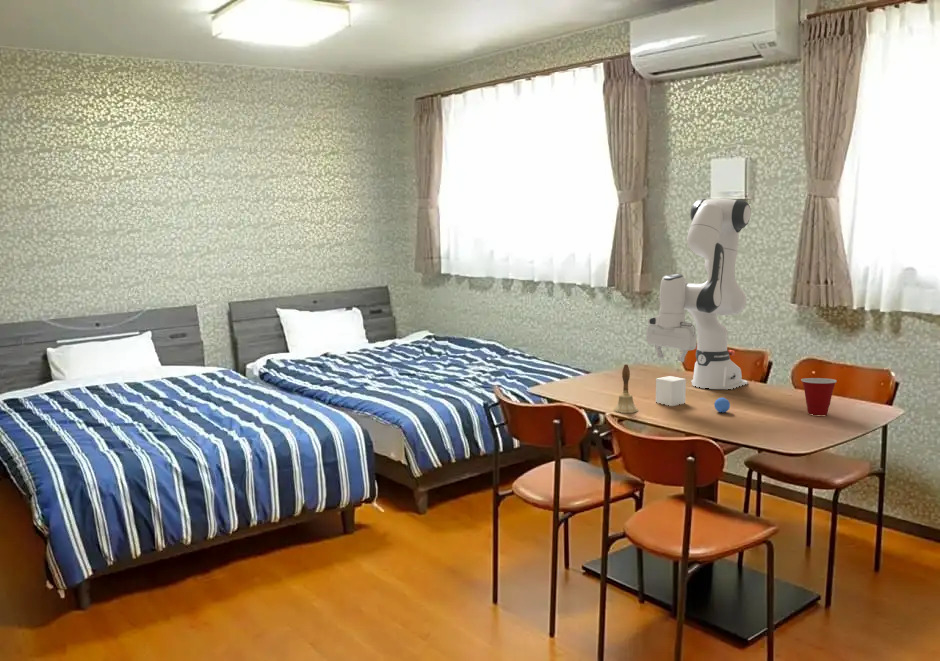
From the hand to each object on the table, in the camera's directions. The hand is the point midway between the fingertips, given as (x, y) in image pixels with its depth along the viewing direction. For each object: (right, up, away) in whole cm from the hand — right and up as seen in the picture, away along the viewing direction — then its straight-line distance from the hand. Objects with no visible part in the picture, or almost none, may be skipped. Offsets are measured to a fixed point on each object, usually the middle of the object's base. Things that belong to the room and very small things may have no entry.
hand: (670, 359), depth 288 cm
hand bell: (-17, -17, -7) cm, 25 cm away
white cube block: (+1, -15, +2) cm, 16 cm away
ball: (+14, -15, -13) cm, 24 cm away
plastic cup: (+44, -18, -17) cm, 51 cm away
